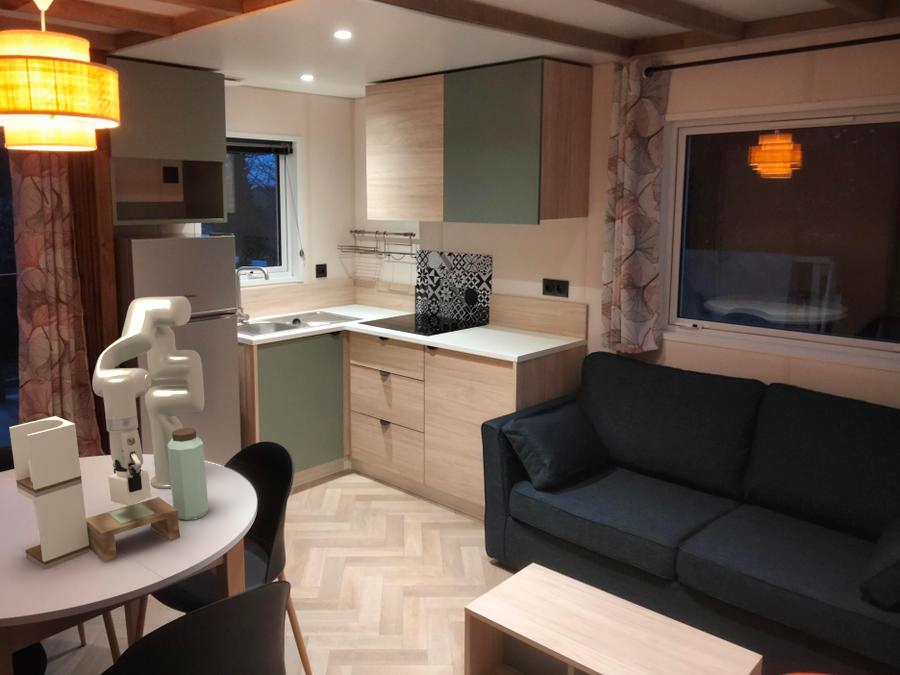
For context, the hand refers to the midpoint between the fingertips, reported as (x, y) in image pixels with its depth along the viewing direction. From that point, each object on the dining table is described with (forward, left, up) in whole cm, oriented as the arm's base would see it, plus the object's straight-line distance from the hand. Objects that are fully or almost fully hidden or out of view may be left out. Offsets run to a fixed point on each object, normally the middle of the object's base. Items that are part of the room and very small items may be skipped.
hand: (128, 485), depth 209 cm
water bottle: (-19, -6, -16) cm, 26 cm away
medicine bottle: (0, 0, -4) cm, 4 cm away
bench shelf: (0, 0, -16) cm, 16 cm away
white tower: (+17, -7, -16) cm, 24 cm away
